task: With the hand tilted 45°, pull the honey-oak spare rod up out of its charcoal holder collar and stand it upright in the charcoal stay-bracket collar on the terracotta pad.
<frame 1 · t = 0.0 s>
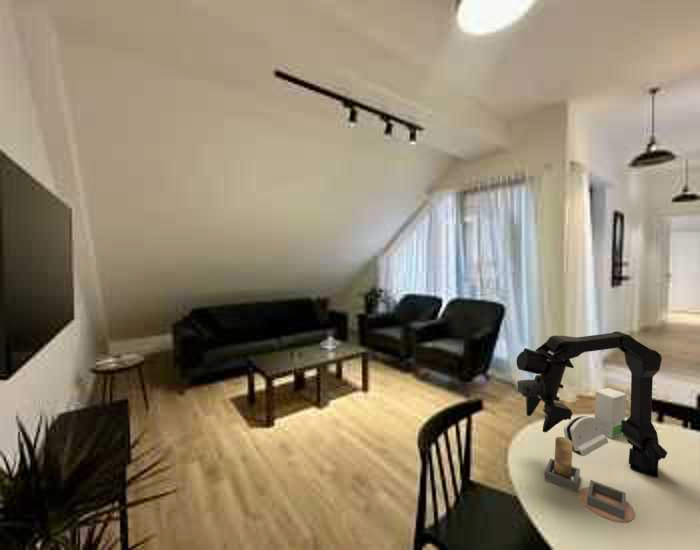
hand: (536, 423, 105), 15 cm above the table, tool pointing down, fingers open, 9 cm apart
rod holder: (562, 477, 103), on the table
skincare box: (608, 432, 126), on the table
spare rod: (563, 459, 102), in the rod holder
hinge: (584, 444, 120), on the table
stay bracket: (606, 503, 93), on the table
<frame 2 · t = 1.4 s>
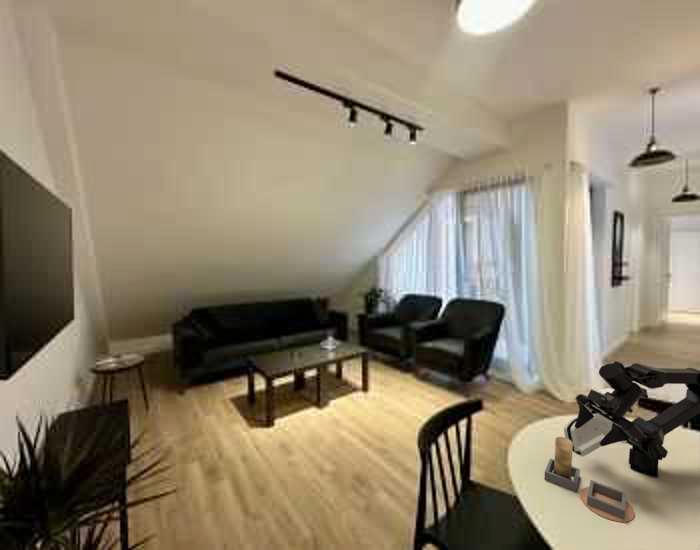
hand: (587, 436, 102), 13 cm above the table, tool tilted 45°, fingers open, 9 cm apart
nothing on the table moved.
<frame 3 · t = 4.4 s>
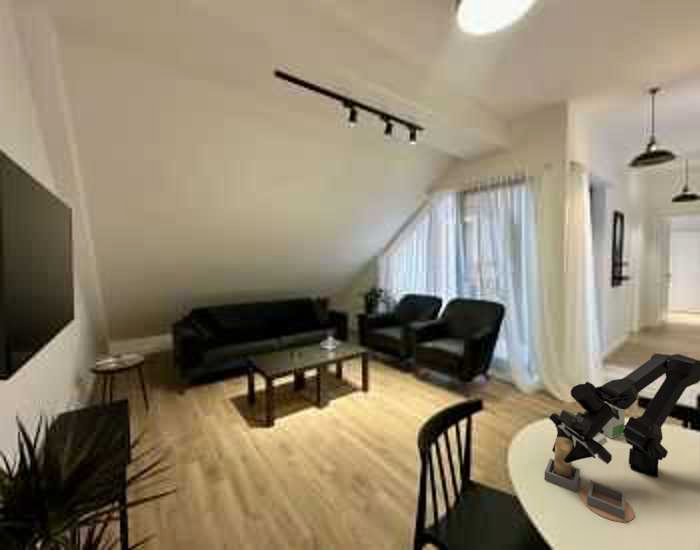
hand: (559, 456, 102), 7 cm above the table, tool tilted 45°, fingers closed on spare rod, 4 cm apart
spare rod: (563, 459, 102), in the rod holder, touching gripper
everything else where it was.
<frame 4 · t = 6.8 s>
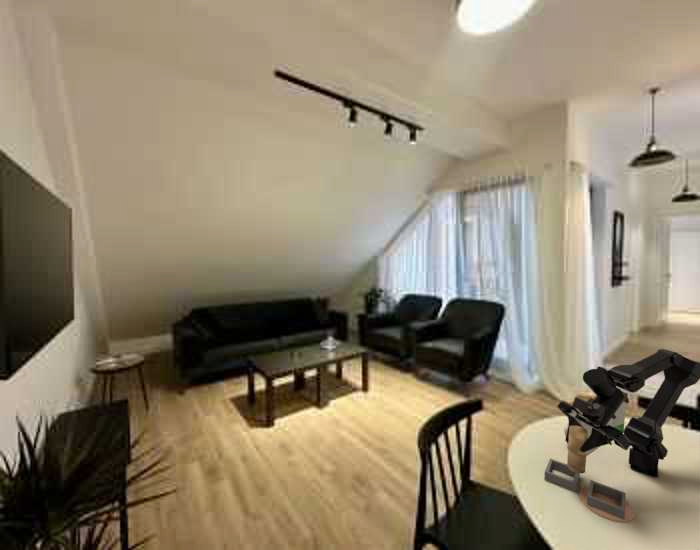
hand: (573, 446, 97), 13 cm above the table, tool tilted 45°, fingers closed on spare rod, 4 cm apart
spare rod: (577, 449, 98), point 12 cm above the table, touching gripper
everything else where it was.
when the fingers open (8 cm above the table, at t = 9.3 s): spare rod stays where it is, resting on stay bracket.
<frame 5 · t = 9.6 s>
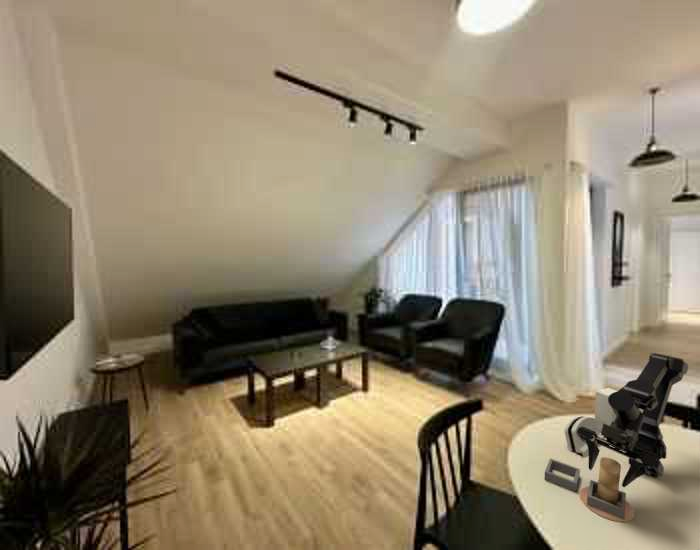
hand: (605, 477, 91), 8 cm above the table, tool tilted 45°, fingers open, 7 cm apart
spare rod: (608, 482, 92), in the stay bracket
everything else where it was.
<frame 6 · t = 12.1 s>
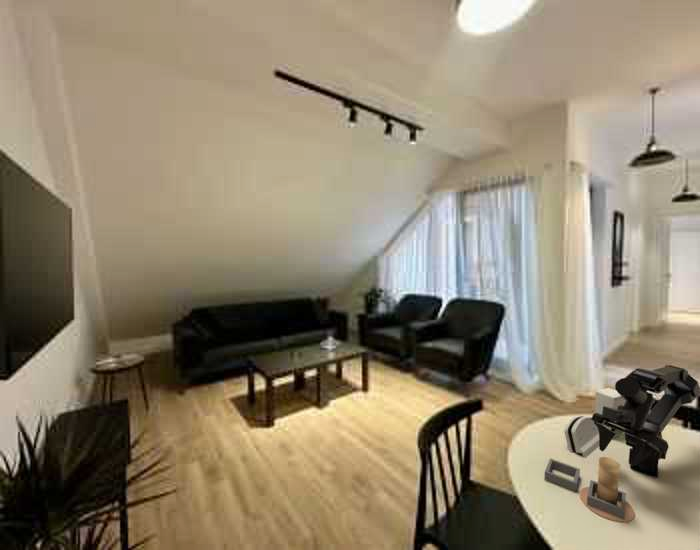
hand: (615, 457, 98), 9 cm above the table, tool tilted 35°, fingers open, 9 cm apart
nothing on the table moved.
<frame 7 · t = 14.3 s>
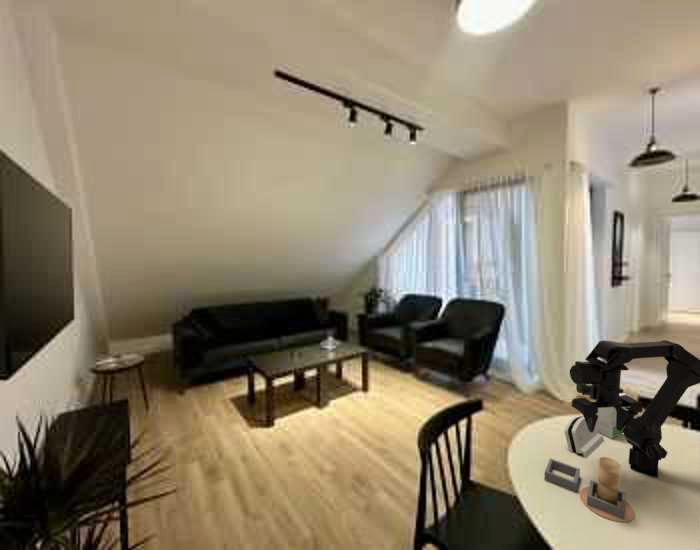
hand: (604, 431, 104), 13 cm above the table, tool pointing down, fingers open, 9 cm apart
nothing on the table moved.
at the end: spare rod 0.1 cm off-centre on the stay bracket, point 6.3 cm above the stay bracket's base; spare rod tilted 0°; the gripper is holding nothing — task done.
